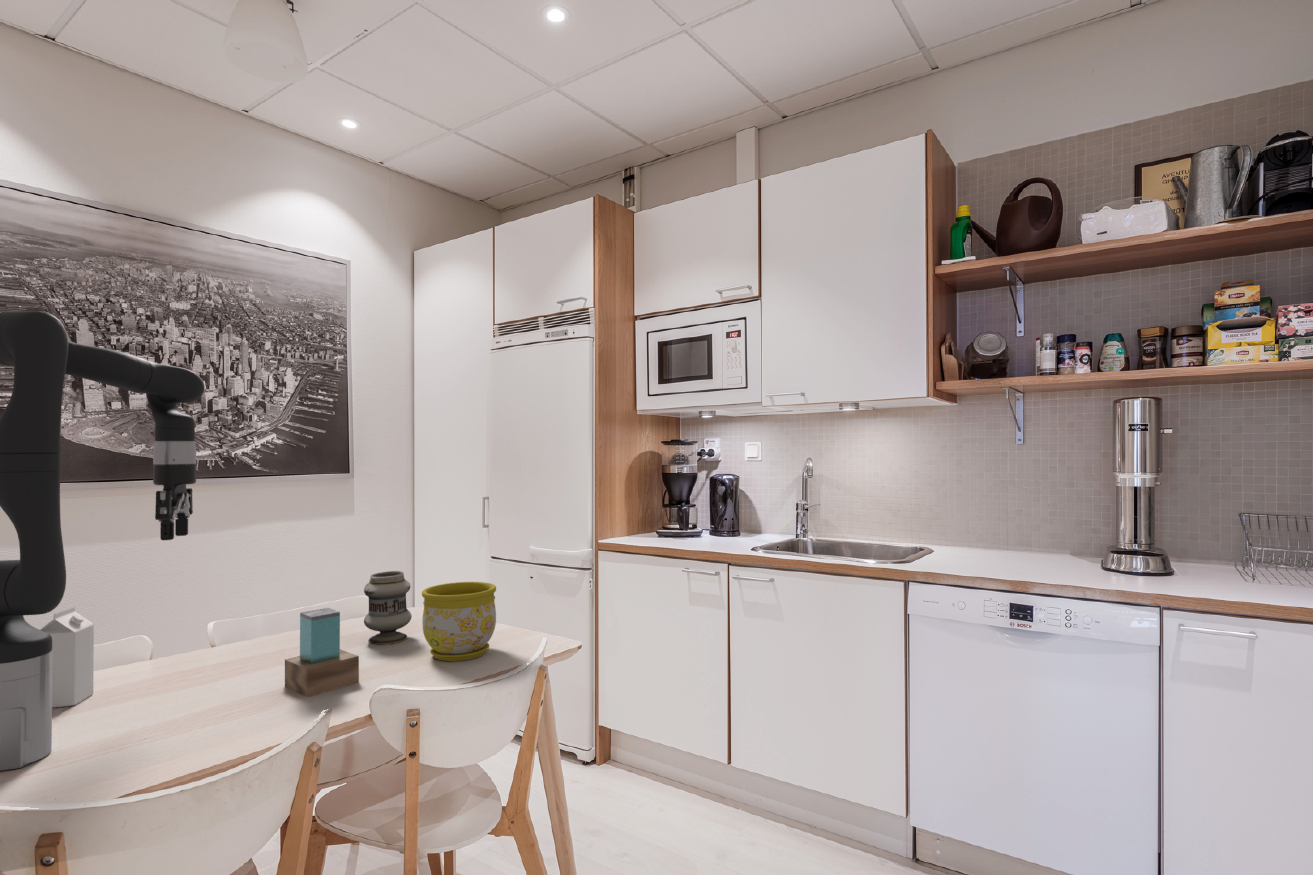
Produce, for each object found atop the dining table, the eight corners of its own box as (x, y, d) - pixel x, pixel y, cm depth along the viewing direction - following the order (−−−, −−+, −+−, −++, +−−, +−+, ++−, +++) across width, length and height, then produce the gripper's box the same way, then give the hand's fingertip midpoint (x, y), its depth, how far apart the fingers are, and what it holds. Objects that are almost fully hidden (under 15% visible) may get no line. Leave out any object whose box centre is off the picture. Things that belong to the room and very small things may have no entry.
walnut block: (358, 683, 147) (358, 655, 147) (307, 697, 138) (307, 668, 138) (335, 673, 154) (335, 647, 154) (284, 686, 145) (284, 659, 145)
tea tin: (339, 657, 146) (339, 611, 146) (311, 664, 142) (311, 617, 142) (327, 651, 150) (328, 607, 150) (299, 658, 145) (300, 612, 146)
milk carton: (32, 710, 133) (32, 615, 133) (53, 697, 140) (54, 607, 140) (74, 706, 135) (75, 612, 135) (93, 694, 142) (94, 604, 142)
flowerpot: (478, 666, 156) (478, 596, 157) (408, 663, 159) (407, 595, 159) (507, 644, 174) (507, 581, 174) (443, 642, 177) (443, 580, 177)
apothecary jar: (353, 644, 176) (353, 576, 177) (382, 632, 188) (382, 568, 188) (393, 647, 173) (393, 578, 174) (420, 634, 185) (420, 570, 185)
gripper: (183, 462, 137) (183, 540, 137) (205, 462, 151) (205, 533, 151) (140, 463, 135) (140, 542, 135) (166, 462, 149) (166, 535, 148)
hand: (174, 537), depth 143 cm, fingers open, 8 cm apart
